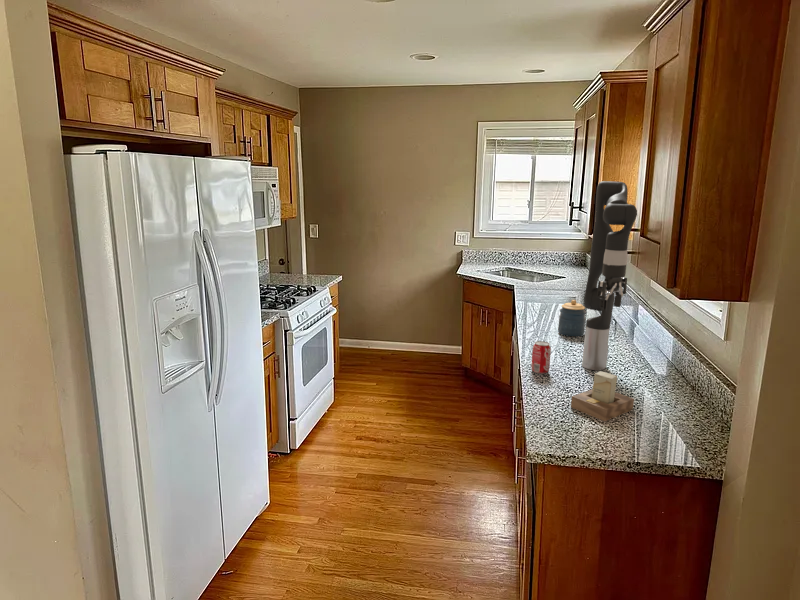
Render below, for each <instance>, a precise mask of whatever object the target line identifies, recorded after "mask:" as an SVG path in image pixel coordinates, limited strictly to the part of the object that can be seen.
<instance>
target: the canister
mask: <svg viewBox="0 0 800 600" xmlns="http://www.w3.org/2000/svg"><path fill="white" fill-rule="evenodd" d="M561 307H562V308H560V309H559V313H560V314H559V316H558V326H557V333H558V332H559V333H560V334H559V333H558V334H559V335H561V334H563V335H562V336H564V335H567V336H566V337H569V336H581V337H583V336H585V329H586V321H587V318H586V314H587V311H586V310H585V309H586V307H585V305H583V304H582V303H579V302H577V299H571V301H570V302H566V303H564V304H562V305H561ZM582 335H583V336H582Z"/></svg>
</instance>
